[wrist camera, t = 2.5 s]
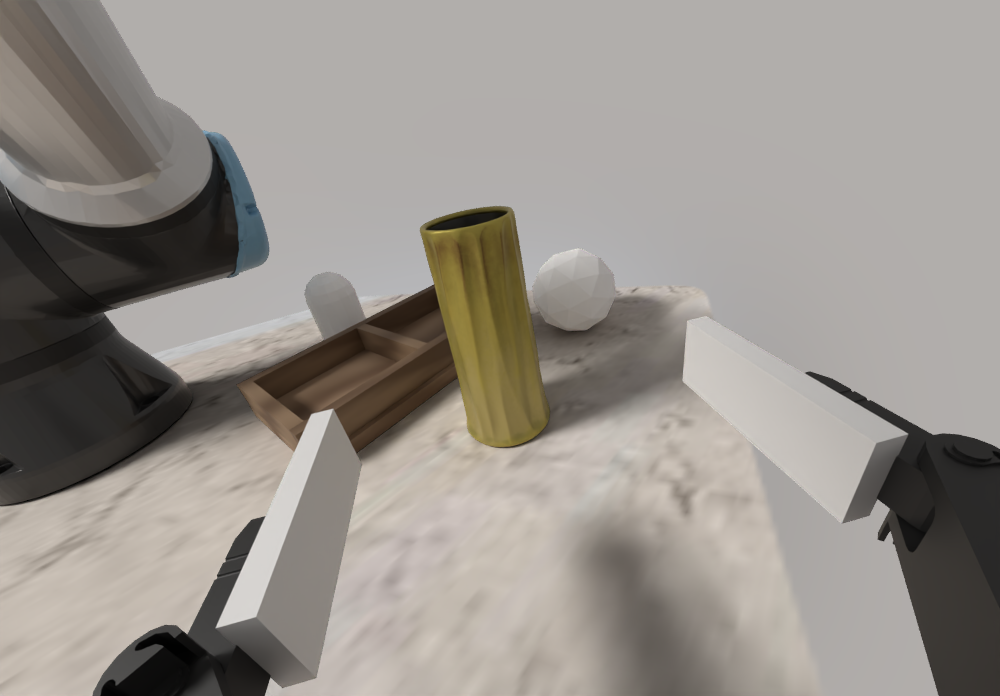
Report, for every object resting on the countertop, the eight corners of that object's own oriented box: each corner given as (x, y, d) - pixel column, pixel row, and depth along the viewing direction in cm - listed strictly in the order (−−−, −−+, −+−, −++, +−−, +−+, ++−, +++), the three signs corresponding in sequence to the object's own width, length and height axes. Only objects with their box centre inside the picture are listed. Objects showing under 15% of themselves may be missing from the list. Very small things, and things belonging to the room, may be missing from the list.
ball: (561, 342, 40) (539, 275, 41) (635, 317, 37) (609, 243, 38) (533, 344, 34) (507, 263, 35) (619, 312, 30) (587, 223, 31)
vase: (542, 386, 30) (516, 198, 23) (557, 440, 24) (529, 217, 17) (468, 399, 30) (418, 217, 23) (466, 456, 25) (401, 242, 17)
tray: (256, 416, 33) (234, 382, 31) (443, 309, 47) (435, 282, 45) (322, 478, 25) (298, 438, 23) (524, 327, 39) (519, 294, 37)
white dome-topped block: (335, 329, 48) (309, 270, 44) (375, 323, 47) (352, 262, 43) (318, 350, 43) (286, 286, 39) (362, 343, 43) (335, 277, 39)
